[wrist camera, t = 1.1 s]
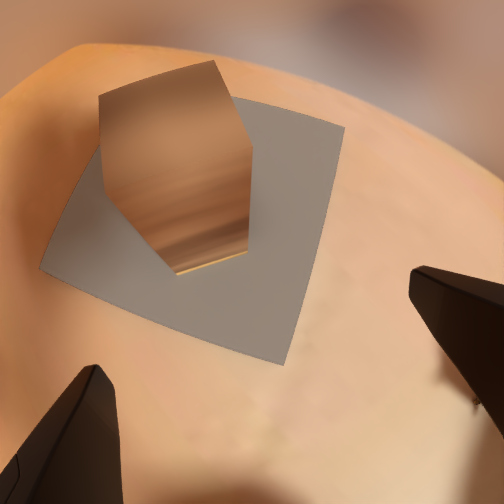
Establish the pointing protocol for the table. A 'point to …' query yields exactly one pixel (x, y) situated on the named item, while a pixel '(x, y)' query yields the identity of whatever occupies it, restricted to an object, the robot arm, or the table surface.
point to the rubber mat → (222, 273)
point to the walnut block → (179, 165)
